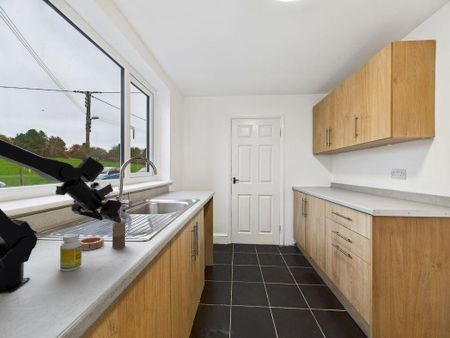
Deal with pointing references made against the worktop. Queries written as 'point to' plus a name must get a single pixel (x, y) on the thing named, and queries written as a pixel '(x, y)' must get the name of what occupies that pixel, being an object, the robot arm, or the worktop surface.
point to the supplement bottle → (70, 253)
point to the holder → (92, 243)
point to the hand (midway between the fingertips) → (111, 220)
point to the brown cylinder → (118, 235)
